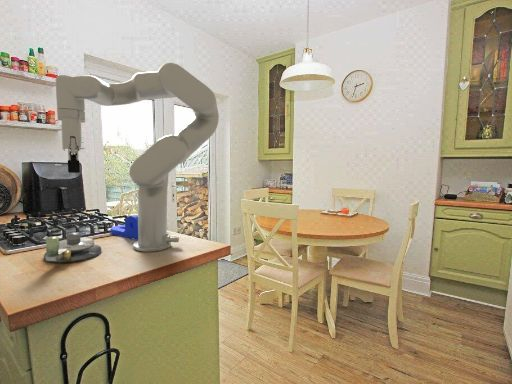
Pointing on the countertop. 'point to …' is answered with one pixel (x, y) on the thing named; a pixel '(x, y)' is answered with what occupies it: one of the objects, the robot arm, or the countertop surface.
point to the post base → (77, 255)
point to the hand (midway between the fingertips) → (74, 172)
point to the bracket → (127, 228)
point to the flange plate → (66, 245)
